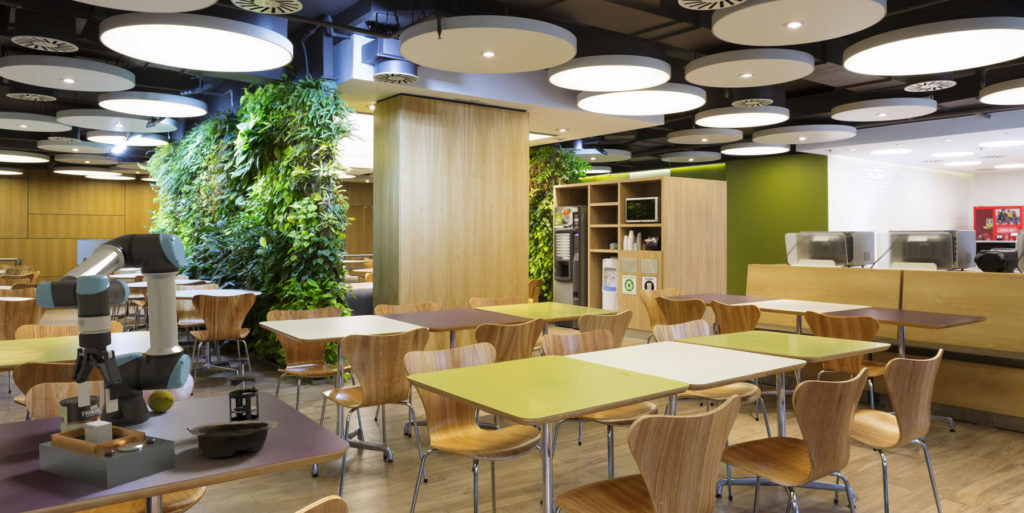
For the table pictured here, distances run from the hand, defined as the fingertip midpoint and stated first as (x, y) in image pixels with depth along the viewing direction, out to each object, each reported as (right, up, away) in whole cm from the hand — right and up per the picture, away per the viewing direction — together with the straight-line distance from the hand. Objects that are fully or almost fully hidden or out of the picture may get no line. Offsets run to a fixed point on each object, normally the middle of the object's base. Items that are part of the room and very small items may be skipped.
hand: (97, 408), depth 182 cm
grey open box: (+4, -16, -2) cm, 16 cm away
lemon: (-14, -15, +60) cm, 63 cm away
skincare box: (0, -16, 0) cm, 16 cm away
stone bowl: (+32, -15, +13) cm, 38 cm away
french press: (+25, -15, +36) cm, 47 cm away
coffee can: (-18, -16, +21) cm, 32 cm away
